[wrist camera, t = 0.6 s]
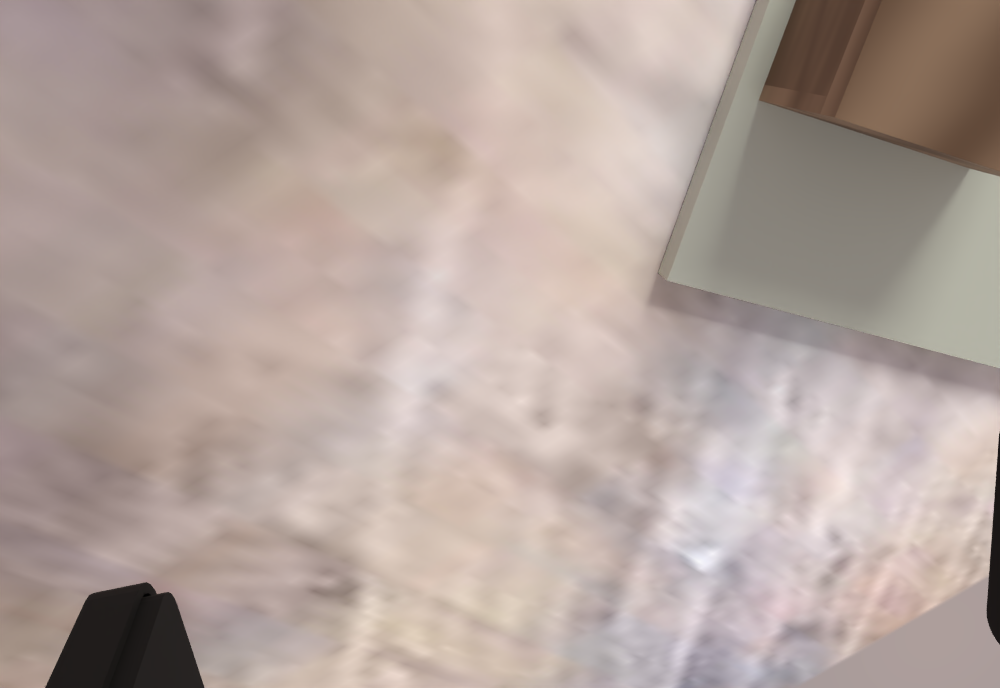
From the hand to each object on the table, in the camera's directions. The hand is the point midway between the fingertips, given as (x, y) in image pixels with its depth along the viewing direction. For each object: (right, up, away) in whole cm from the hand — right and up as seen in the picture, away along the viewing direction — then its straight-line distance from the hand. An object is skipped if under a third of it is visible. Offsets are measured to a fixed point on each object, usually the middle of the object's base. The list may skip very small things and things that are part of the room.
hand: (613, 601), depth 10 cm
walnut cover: (+14, +14, +25) cm, 32 cm away
